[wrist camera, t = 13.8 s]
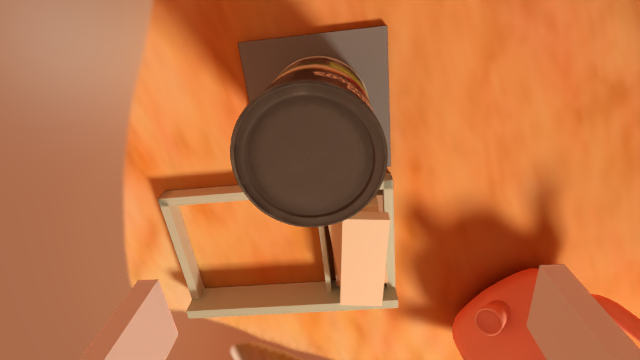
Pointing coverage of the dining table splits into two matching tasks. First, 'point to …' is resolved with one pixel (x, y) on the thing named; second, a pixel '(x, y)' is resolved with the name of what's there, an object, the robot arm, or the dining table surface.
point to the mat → (347, 46)
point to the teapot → (514, 321)
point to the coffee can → (310, 145)
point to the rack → (343, 294)
